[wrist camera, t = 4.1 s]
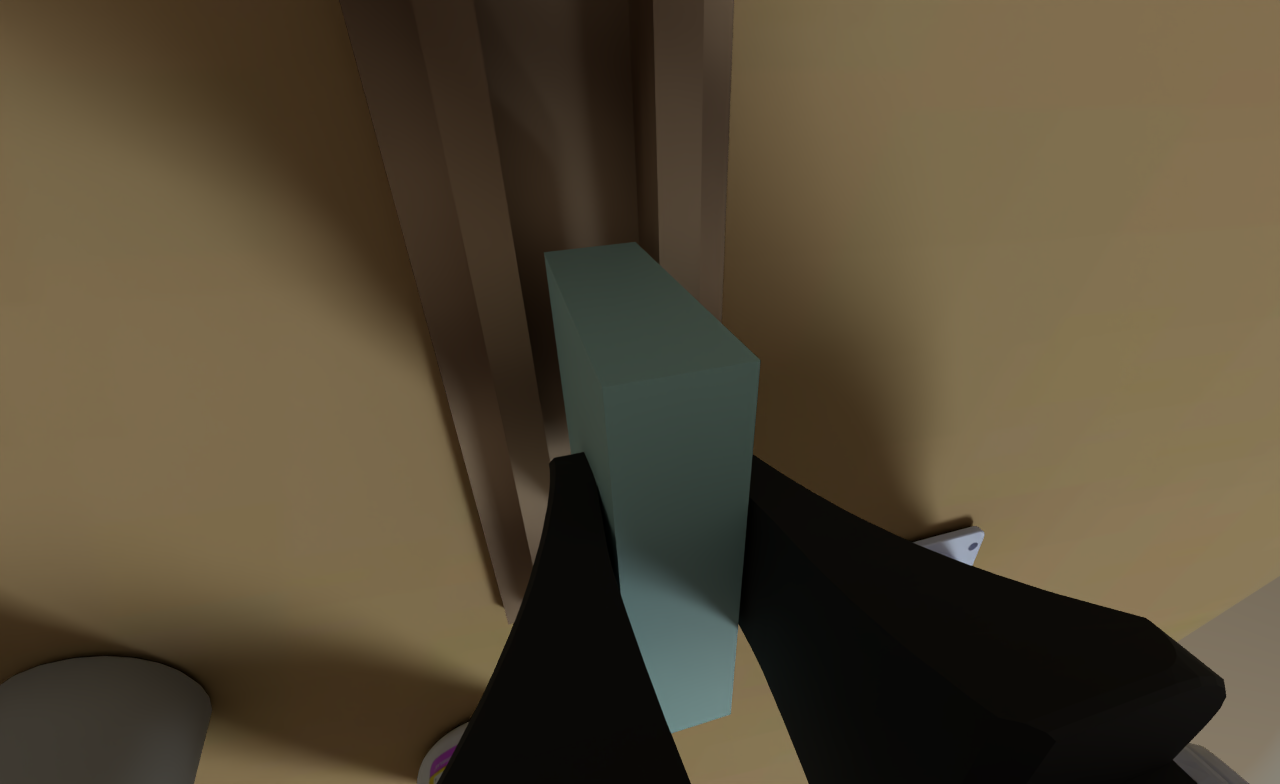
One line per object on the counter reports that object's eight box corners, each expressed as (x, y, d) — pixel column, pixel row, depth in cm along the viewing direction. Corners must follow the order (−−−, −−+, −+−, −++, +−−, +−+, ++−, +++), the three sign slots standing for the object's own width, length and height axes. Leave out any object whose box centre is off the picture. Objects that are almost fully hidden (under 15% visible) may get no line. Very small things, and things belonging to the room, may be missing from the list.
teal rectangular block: (647, 513, 16) (730, 714, 11) (581, 528, 15) (634, 745, 10) (635, 241, 12) (760, 360, 7) (543, 252, 11) (601, 387, 6)
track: (706, 560, 21) (793, 736, 16) (507, 610, 20) (521, 829, 14) (728, -168, 11) (1038, -475, 5) (294, -188, 9) (-38, -697, 3)
